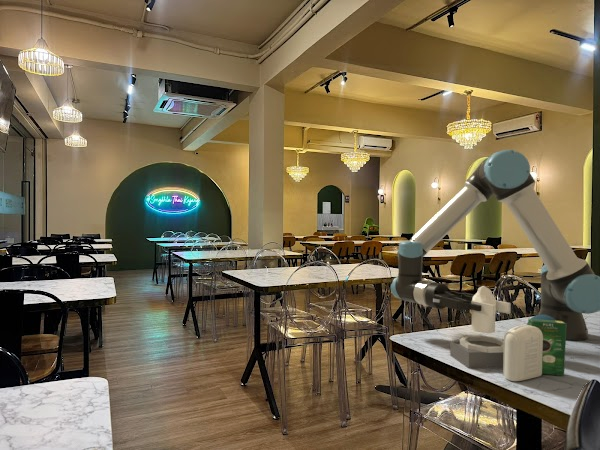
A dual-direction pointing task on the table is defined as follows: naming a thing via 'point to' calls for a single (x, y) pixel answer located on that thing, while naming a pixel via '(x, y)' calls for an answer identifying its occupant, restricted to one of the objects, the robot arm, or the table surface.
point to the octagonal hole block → (478, 351)
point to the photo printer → (522, 353)
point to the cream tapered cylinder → (481, 320)
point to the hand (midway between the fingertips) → (501, 309)
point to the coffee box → (552, 345)
